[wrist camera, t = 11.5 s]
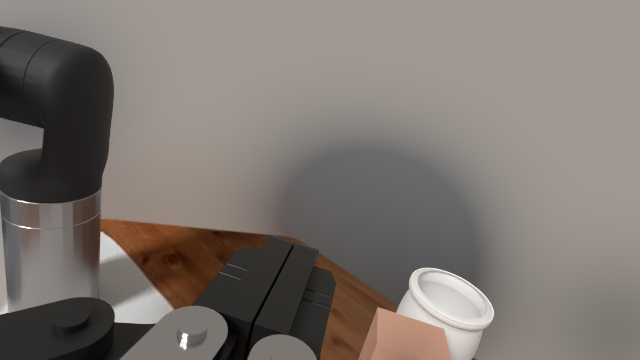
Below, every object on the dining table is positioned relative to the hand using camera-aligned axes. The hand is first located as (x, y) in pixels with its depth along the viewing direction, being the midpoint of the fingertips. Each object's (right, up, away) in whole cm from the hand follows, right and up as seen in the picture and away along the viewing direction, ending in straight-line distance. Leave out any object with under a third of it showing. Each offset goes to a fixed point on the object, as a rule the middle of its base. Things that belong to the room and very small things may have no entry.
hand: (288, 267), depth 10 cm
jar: (+14, -25, +38) cm, 47 cm away
